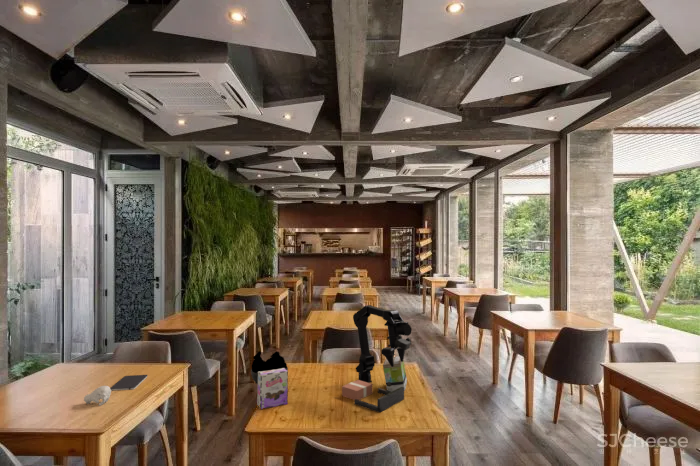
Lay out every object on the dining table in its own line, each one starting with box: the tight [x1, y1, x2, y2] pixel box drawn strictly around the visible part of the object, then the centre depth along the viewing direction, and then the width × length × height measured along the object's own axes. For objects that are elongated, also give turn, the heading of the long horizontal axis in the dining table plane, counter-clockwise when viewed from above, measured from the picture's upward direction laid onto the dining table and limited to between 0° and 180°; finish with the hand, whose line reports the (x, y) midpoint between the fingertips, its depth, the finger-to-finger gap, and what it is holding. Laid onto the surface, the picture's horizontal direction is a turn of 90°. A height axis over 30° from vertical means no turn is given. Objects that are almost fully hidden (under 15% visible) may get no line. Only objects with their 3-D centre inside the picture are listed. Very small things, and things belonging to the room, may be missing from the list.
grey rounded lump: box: [83, 385, 112, 407], centre depth 194 cm, size 6×8×12 cm
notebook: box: [110, 374, 148, 392], centre depth 222 cm, size 13×2×21 cm
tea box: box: [382, 355, 408, 392], centre depth 215 cm, size 15×10×15 cm
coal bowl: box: [250, 350, 289, 386], centre depth 217 cm, size 20×20×19 cm
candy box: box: [256, 368, 289, 410], centre depth 193 cm, size 14×6×16 cm, turn 117°
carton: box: [341, 379, 374, 401], centre depth 206 cm, size 10×13×5 cm
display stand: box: [353, 387, 405, 414], centre depth 197 cm, size 16×21×6 cm
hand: (397, 364), depth 208 cm, fingers open, 9 cm apart
